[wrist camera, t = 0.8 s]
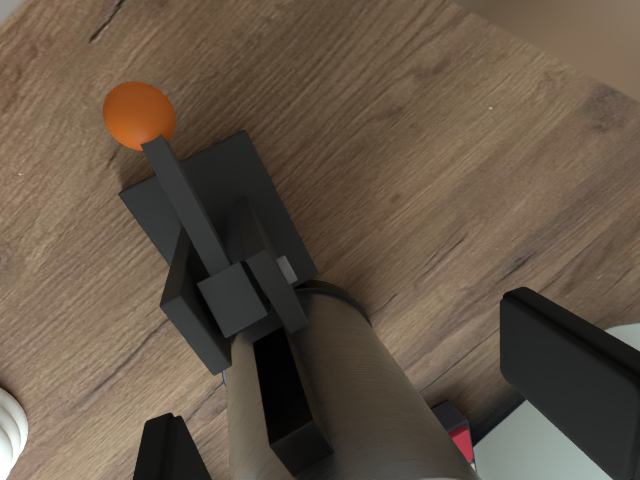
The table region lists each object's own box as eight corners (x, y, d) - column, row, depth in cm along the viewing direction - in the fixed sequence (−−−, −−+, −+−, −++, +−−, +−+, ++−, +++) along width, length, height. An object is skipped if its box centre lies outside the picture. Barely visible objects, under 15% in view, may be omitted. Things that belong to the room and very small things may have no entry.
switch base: (121, 190, 24) (47, 255, 13) (244, 129, 25) (267, 144, 14) (215, 322, 29) (216, 448, 18) (315, 268, 30) (372, 358, 19)
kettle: (176, 313, 28) (117, 638, 11) (326, 233, 29) (487, 412, 12) (266, 430, 34) (318, 757, 17) (386, 361, 35) (550, 600, 18)
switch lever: (111, 115, 19) (75, 87, 16) (166, 89, 20) (141, 56, 16) (226, 331, 19) (213, 346, 16) (280, 302, 19) (277, 310, 16)
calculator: (484, 492, 40) (363, 565, 37) (458, 459, 44) (347, 523, 41) (474, 424, 36) (336, 501, 33) (446, 394, 40) (321, 460, 37)
